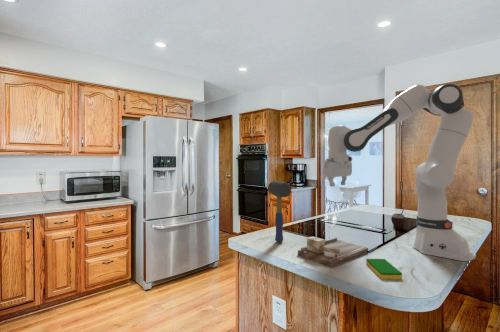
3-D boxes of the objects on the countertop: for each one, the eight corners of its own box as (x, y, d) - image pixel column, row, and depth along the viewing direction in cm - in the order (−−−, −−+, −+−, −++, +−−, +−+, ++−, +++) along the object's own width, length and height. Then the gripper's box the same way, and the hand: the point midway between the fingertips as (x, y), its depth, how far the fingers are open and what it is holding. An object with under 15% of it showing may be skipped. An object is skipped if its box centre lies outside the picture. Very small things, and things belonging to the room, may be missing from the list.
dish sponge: (384, 264, 108) (384, 258, 108) (402, 280, 95) (402, 273, 95) (365, 264, 109) (365, 258, 109) (381, 280, 95) (381, 273, 95)
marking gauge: (341, 256, 110) (341, 244, 109) (335, 259, 107) (335, 246, 107) (313, 247, 121) (313, 236, 120) (306, 249, 118) (307, 238, 118)
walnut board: (370, 253, 120) (370, 245, 120) (333, 268, 104) (333, 259, 104) (334, 243, 134) (334, 236, 134) (297, 255, 118) (297, 247, 118)
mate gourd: (388, 227, 164) (388, 202, 163) (397, 226, 167) (398, 201, 166) (400, 230, 157) (400, 204, 156) (409, 228, 160) (409, 202, 160)
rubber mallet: (292, 245, 131) (292, 181, 130) (278, 247, 129) (278, 182, 128) (279, 238, 143) (279, 179, 142) (266, 239, 140) (266, 180, 139)
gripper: (330, 158, 131) (330, 187, 131) (354, 157, 144) (354, 184, 144) (319, 158, 136) (319, 186, 136) (343, 158, 149) (343, 183, 149)
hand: (337, 185), depth 140 cm, fingers open, 8 cm apart
